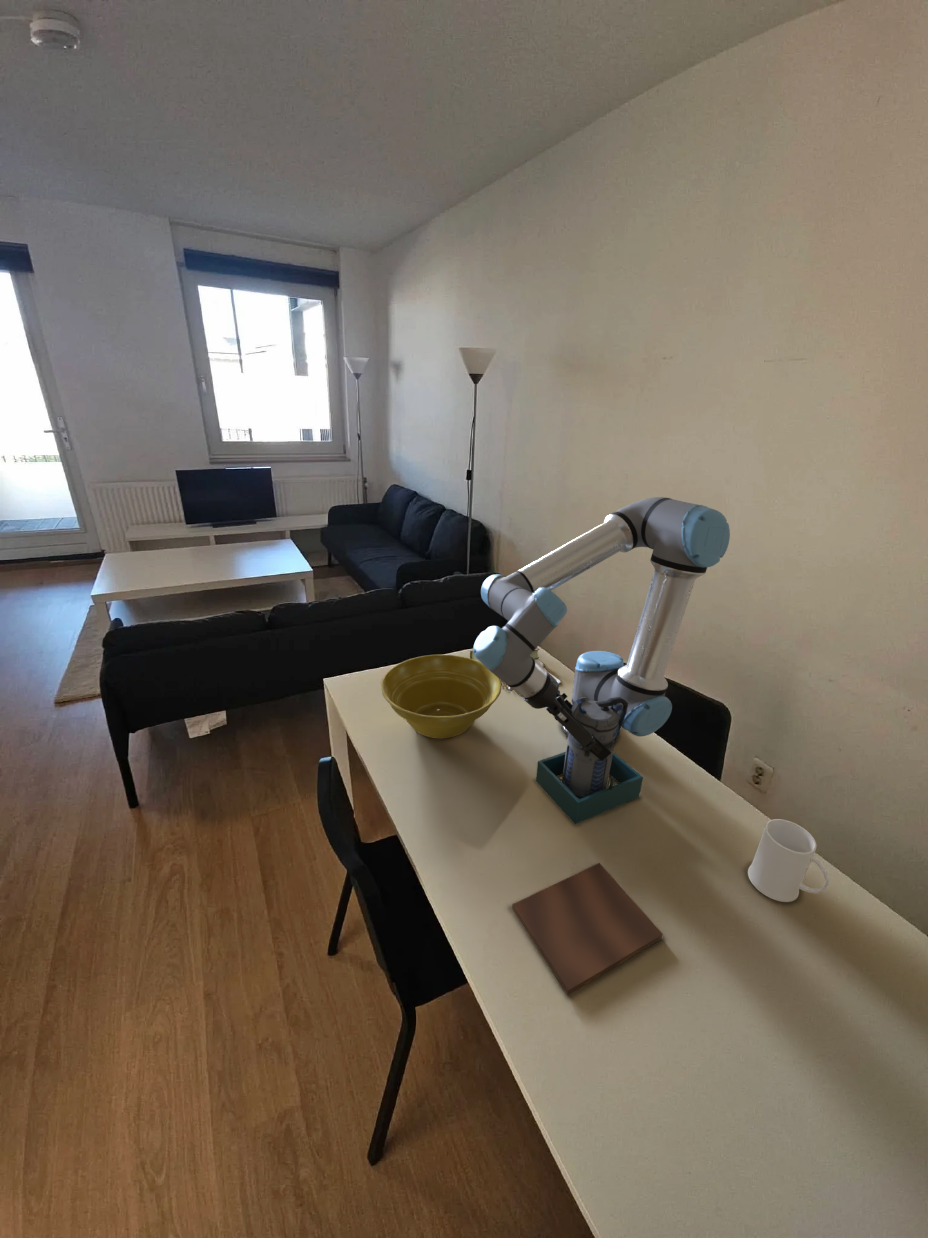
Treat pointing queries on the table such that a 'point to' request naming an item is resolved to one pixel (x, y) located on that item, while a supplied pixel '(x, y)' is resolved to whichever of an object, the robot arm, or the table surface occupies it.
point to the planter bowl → (440, 693)
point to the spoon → (548, 672)
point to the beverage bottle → (584, 767)
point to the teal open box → (594, 802)
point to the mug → (784, 861)
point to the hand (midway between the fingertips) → (591, 736)
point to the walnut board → (585, 926)
